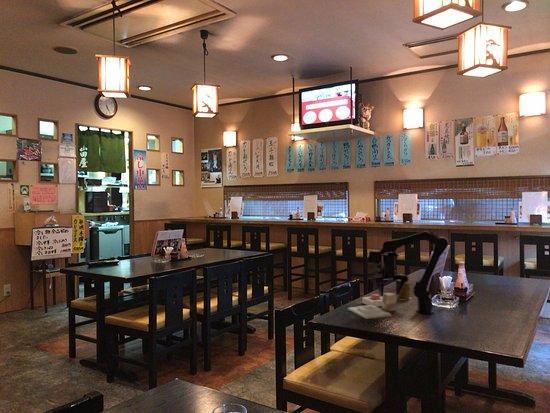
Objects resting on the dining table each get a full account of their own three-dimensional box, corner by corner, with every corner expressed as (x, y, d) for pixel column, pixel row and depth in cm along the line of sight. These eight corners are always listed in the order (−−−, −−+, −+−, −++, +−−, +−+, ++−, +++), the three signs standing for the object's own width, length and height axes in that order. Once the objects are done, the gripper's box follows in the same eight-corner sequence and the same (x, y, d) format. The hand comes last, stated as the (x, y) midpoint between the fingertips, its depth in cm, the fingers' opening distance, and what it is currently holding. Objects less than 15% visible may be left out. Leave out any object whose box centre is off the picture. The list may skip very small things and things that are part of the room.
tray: (391, 316, 209) (391, 310, 209) (365, 318, 205) (365, 313, 205) (371, 307, 227) (371, 302, 226) (347, 309, 222) (347, 304, 222)
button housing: (388, 305, 230) (388, 299, 230) (371, 307, 227) (371, 301, 226) (378, 301, 239) (378, 295, 239) (362, 302, 236) (362, 297, 236)
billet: (396, 310, 220) (396, 294, 220) (387, 311, 219) (387, 295, 218) (390, 307, 225) (390, 292, 225) (382, 308, 223) (382, 293, 223)
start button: (381, 301, 231) (381, 295, 231) (373, 302, 230) (373, 296, 230) (376, 299, 236) (376, 293, 236) (369, 300, 234) (369, 294, 234)
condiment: (412, 298, 246) (412, 277, 245) (402, 300, 241) (402, 279, 241) (402, 296, 252) (402, 275, 251) (392, 298, 247) (392, 277, 247)
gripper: (396, 261, 232) (396, 290, 232) (365, 263, 226) (365, 293, 226) (408, 264, 221) (408, 294, 221) (376, 266, 215) (376, 298, 216)
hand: (389, 295), depth 222 cm, fingers open, 9 cm apart
